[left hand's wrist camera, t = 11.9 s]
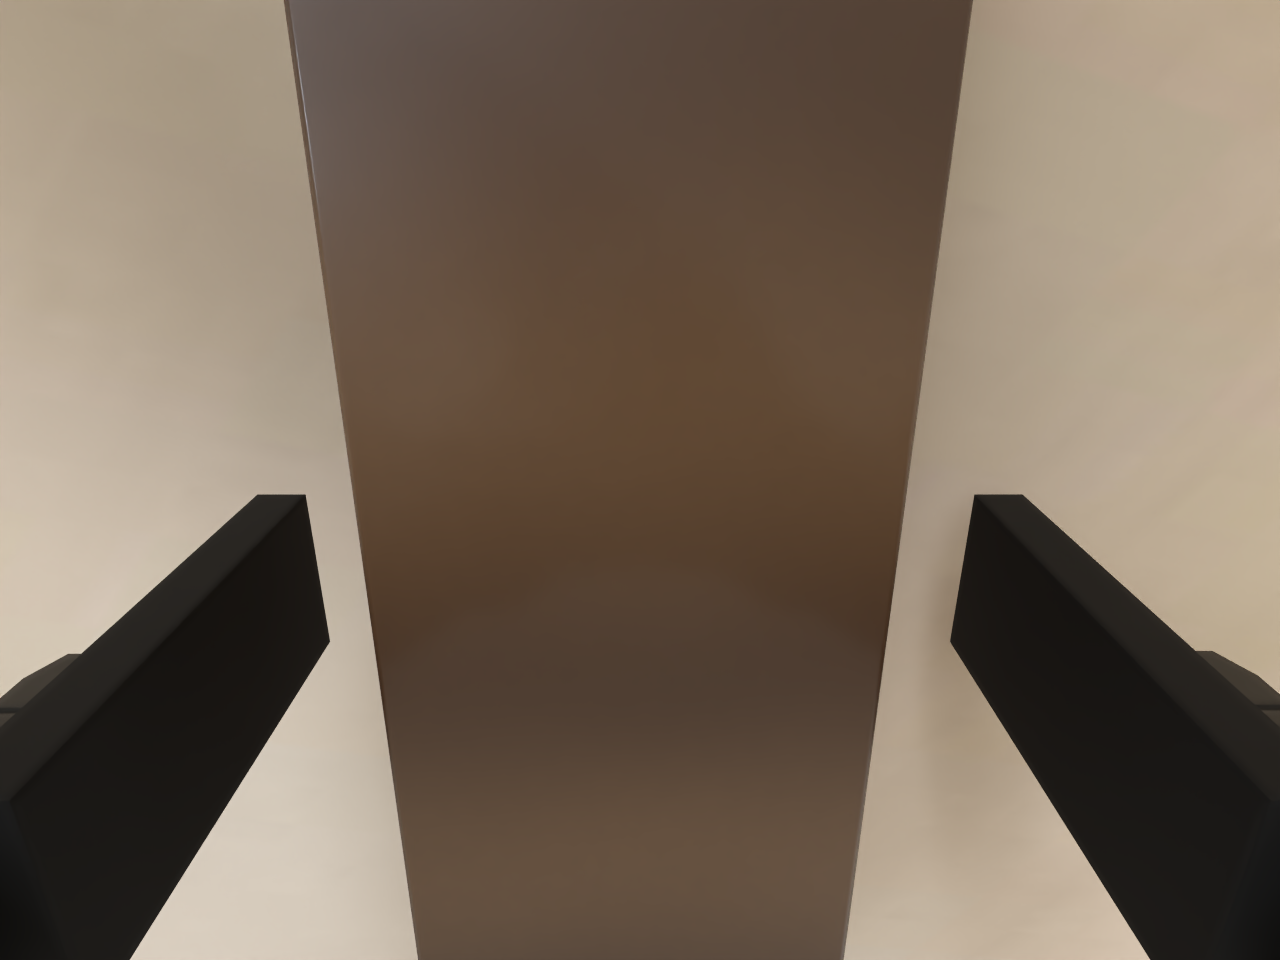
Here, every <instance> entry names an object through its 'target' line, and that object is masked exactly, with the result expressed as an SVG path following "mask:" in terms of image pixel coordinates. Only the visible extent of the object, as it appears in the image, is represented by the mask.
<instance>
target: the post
mask: <svg viewBox="0 0 1280 960" xmlns="http://www.w3.org/2000/svg"><path fill="white" fill-rule="evenodd" d="M972 3H973V0H284V5H285V12H286V19H287V26H288V33H289V40H290V48H291V55H292V62H293V69H294V76H295V83H296V90H297V98H298V105H299V112H300V119H301V126H302V133H303V140H304V147H305V155H306V162H307V169H308V176H309V183H310V190H311V197H312V205H313V212H314V219H315V226H316V233H317V240H318V247H319V255H320V262H321V269H322V276H323V283H324V290H325V297H326V305H327V312H328V319H329V326H330V333H331V340H332V347H333V355H334V362H335V369H336V376H337V383H338V390H339V397H340V404H341V412H342V419H343V426H344V433H345V440H346V447H347V454H348V462H349V469H350V476H351V483H352V490H353V497H354V504H355V512H356V519H357V526H358V533H359V540H360V547H361V554H362V562H363V569H364V576H365V583H366V590H367V597H368V604H369V612H370V619H371V626H372V633H373V640H374V647H375V654H376V661H377V669H378V676H379V683H380V690H381V697H382V704H383V711H384V719H385V726H386V733H387V740H388V747H389V754H390V761H391V769H392V776H393V783H394V790H395V797H396V804H397V811H398V819H399V826H400V833H401V840H402V847H403V854H404V861H405V869H406V876H407V883H408V890H409V897H410V904H411V911H412V918H413V926H414V933H415V940H416V947H417V954H418V960H844V952H845V945H846V938H847V930H848V923H849V915H850V908H851V901H852V893H853V886H854V878H855V871H856V863H857V856H858V849H859V841H860V834H861V826H862V819H863V812H864V804H865V797H866V789H867V782H868V774H869V767H870V760H871V752H872V745H873V737H874V730H875V723H876V715H877V708H878V700H879V693H880V685H881V678H882V671H883V663H884V656H885V648H886V641H887V634H888V626H889V619H890V611H891V604H892V596H893V589H894V582H895V574H896V567H897V559H898V552H899V545H900V537H901V530H902V522H903V515H904V508H905V500H906V493H907V485H908V478H909V470H910V463H911V456H912V448H913V441H914V433H915V426H916V419H917V411H918V404H919V396H920V389H921V381H922V374H923V367H924V359H925V352H926V344H927V337H928V330H929V322H930V315H931V307H932V300H933V292H934V285H935V278H936V270H937V263H938V255H939V248H940V241H941V233H942V226H943V218H944V211H945V203H946V196H947V189H948V181H949V174H950V166H951V159H952V152H953V144H954V137H955V129H956V122H957V115H958V107H959V100H960V92H961V85H962V77H963V70H964V63H965V55H966V48H967V40H968V33H969V26H970V18H971V11H972Z"/></svg>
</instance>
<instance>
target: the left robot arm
mask: <svg viewBox="0 0 1280 960" xmlns="http://www.w3.org/2000/svg"><path fill="white" fill-rule="evenodd" d="M329 642H330V639H329V633H328V627H327V621H326V615H325V609H324V603H323V597H322V591H321V585H320V579H319V573H318V567H317V561H316V555H315V549H314V543H313V537H312V531H311V525H310V519H309V513H308V507H307V501H306V495H257V496H256V497H254V498H253V499H252V500H251V501H250V502H249V503H248V504H247V505H246V506H244V507H243V508H242V509H241V510H240V511H239V512H238V513H237V514H236V515H235V516H233V517H232V518H231V519H230V520H229V521H228V522H227V523H226V524H225V525H223V526H222V527H221V528H220V529H219V530H218V531H217V532H216V533H215V534H213V535H212V536H211V537H210V538H209V539H208V540H207V541H206V542H205V543H204V544H202V545H201V546H200V547H199V548H198V549H197V550H196V551H195V552H194V553H192V554H191V555H190V556H189V557H188V558H187V559H186V560H185V561H184V562H182V563H181V564H180V565H179V566H178V567H177V568H176V569H175V570H174V571H173V572H171V573H170V574H169V575H168V576H167V577H166V578H165V579H164V580H163V581H161V582H160V583H159V584H158V585H157V586H156V587H155V588H154V589H153V590H151V591H150V592H149V593H148V594H147V595H146V596H145V597H144V598H143V599H142V600H140V601H139V602H138V603H137V604H136V605H135V606H134V607H133V608H132V609H130V610H129V611H128V612H127V613H126V614H125V615H124V616H123V617H122V618H121V619H119V620H118V621H117V622H116V623H115V624H114V625H113V626H112V627H111V628H109V629H108V630H107V631H106V632H105V633H104V634H103V635H102V636H101V637H99V638H98V639H97V640H96V641H95V642H94V643H93V644H92V645H91V646H90V647H88V648H87V649H86V650H85V651H84V652H83V653H82V654H67V655H65V656H64V657H62V658H60V659H58V660H56V661H55V662H53V663H51V664H49V665H47V666H45V667H44V668H42V669H40V670H38V671H36V672H34V673H33V674H31V675H29V676H27V677H25V678H23V679H22V680H21V681H20V682H19V683H17V684H16V685H15V686H14V687H13V688H12V689H10V690H9V691H8V692H7V693H6V694H5V695H3V696H2V697H1V698H0V960H130V958H131V957H132V955H133V954H134V952H135V950H136V949H137V947H138V946H139V944H140V942H141V941H142V939H143V938H144V936H145V935H146V933H147V931H148V930H149V928H150V927H151V925H152V923H153V922H154V920H155V919H156V917H157V915H158V914H159V912H160V911H161V909H162V908H163V906H164V904H165V903H166V901H167V900H168V898H169V896H170V895H171V893H172V892H173V890H174V888H175V887H176V885H177V884H178V882H179V881H180V879H181V877H182V876H183V874H184V873H185V871H186V869H187V868H188V866H189V865H190V863H191V861H192V860H193V858H194V857H195V855H196V854H197V852H198V850H199V849H200V847H201V846H202V844H203V842H204V841H205V839H206V838H207V836H208V834H209V833H210V831H211V830H212V828H213V827H214V825H215V823H216V822H217V820H218V819H219V817H220V815H221V814H222V812H223V811H224V809H225V807H226V806H227V804H228V803H229V801H230V800H231V798H232V796H233V795H234V793H235V792H236V790H237V788H238V787H239V785H240V784H241V782H242V780H243V779H244V777H245V776H246V774H247V773H248V771H249V769H250V768H251V766H252V765H253V763H254V761H255V760H256V758H257V757H258V755H259V753H260V752H261V750H262V749H263V747H264V746H265V744H266V742H267V741H268V739H269V738H270V736H271V734H272V733H273V731H274V730H275V728H276V726H277V725H278V723H279V722H280V720H281V719H282V717H283V715H284V714H285V712H286V711H287V709H288V707H289V706H290V704H291V703H292V701H293V699H294V698H295V696H296V695H297V693H298V692H299V690H300V688H301V687H302V685H303V684H304V682H305V680H306V679H307V677H308V676H309V674H310V672H311V671H312V669H313V668H314V666H315V665H316V663H317V661H318V660H319V658H320V657H321V655H322V653H323V652H324V650H325V649H326V647H327V645H328V644H329ZM950 642H951V644H952V645H953V647H954V649H955V650H956V652H957V653H958V655H959V657H960V658H961V660H962V661H963V663H964V664H965V666H966V668H967V669H968V671H969V672H970V674H971V676H972V677H973V679H974V680H975V682H976V684H977V685H978V687H979V688H980V690H981V691H982V693H983V695H984V696H985V698H986V699H987V701H988V703H989V704H990V706H991V707H992V709H993V711H994V712H995V714H996V715H997V717H998V718H999V720H1000V722H1001V723H1002V725H1003V726H1004V728H1005V730H1006V731H1007V733H1008V734H1009V736H1010V738H1011V739H1012V741H1013V742H1014V744H1015V745H1016V747H1017V749H1018V750H1019V752H1020V753H1021V755H1022V757H1023V758H1024V760H1025V761H1026V763H1027V765H1028V766H1029V768H1030V769H1031V771H1032V772H1033V774H1034V776H1035V777H1036V779H1037V780H1038V782H1039V784H1040V785H1041V787H1042V788H1043V790H1044V792H1045V793H1046V795H1047V796H1048V798H1049V799H1050V801H1051V803H1052V804H1053V806H1054V807H1055V809H1056V811H1057V812H1058V814H1059V815H1060V817H1061V819H1062V820H1063V822H1064V823H1065V825H1066V826H1067V828H1068V830H1069V831H1070V833H1071V834H1072V836H1073V838H1074V839H1075V841H1076V842H1077V844H1078V846H1079V847H1080V849H1081V850H1082V852H1083V853H1084V855H1085V857H1086V858H1087V860H1088V861H1089V863H1090V865H1091V866H1092V868H1093V869H1094V871H1095V873H1096V874H1097V876H1098V877H1099V879H1100V880H1101V882H1102V884H1103V885H1104V887H1105V888H1106V890H1107V892H1108V893H1109V895H1110V896H1111V898H1112V900H1113V901H1114V903H1115V904H1116V906H1117V907H1118V909H1119V911H1120V912H1121V914H1122V915H1123V917H1124V919H1125V920H1126V922H1127V923H1128V925H1129V927H1130V928H1131V930H1132V931H1133V933H1134V934H1135V936H1136V938H1137V939H1138V941H1139V942H1140V944H1141V946H1142V947H1143V949H1144V950H1145V952H1146V954H1147V955H1148V957H1149V958H1150V960H1280V694H1279V693H1278V692H1276V691H1275V690H1274V689H1273V688H1272V687H1270V686H1269V685H1268V684H1267V683H1266V682H1265V681H1263V680H1262V679H1261V678H1260V677H1259V676H1257V675H1256V674H1254V673H1252V672H1250V671H1248V670H1246V669H1245V668H1243V667H1241V666H1239V665H1237V664H1235V663H1233V662H1232V661H1230V660H1228V659H1226V658H1224V657H1222V656H1221V655H1219V654H1217V653H1215V652H1213V651H1195V650H1194V649H1193V648H1192V647H1190V646H1189V645H1188V644H1187V643H1186V642H1185V641H1184V640H1183V639H1182V638H1181V637H1179V636H1178V635H1177V634H1176V633H1175V632H1174V631H1173V630H1172V629H1171V628H1169V627H1168V626H1167V625H1166V624H1165V623H1164V622H1163V621H1162V620H1161V619H1160V618H1158V617H1157V616H1156V615H1155V614H1154V613H1153V612H1152V611H1151V610H1150V609H1148V608H1147V607H1146V606H1145V605H1144V604H1143V603H1142V602H1141V601H1140V600H1138V599H1137V598H1136V597H1135V596H1134V595H1133V594H1132V593H1131V592H1130V591H1129V590H1127V589H1126V588H1125V587H1124V586H1123V585H1122V584H1121V583H1120V582H1119V581H1117V580H1116V579H1115V578H1114V577H1113V576H1112V575H1111V574H1110V573H1109V572H1107V571H1106V570H1105V569H1104V568H1103V567H1102V566H1101V565H1100V564H1099V563H1098V562H1096V561H1095V560H1094V559H1093V558H1092V557H1091V556H1090V555H1089V554H1088V553H1086V552H1085V551H1084V550H1083V549H1082V548H1081V547H1080V546H1079V545H1078V544H1076V543H1075V542H1074V541H1073V540H1072V539H1071V538H1070V537H1069V536H1068V535H1067V534H1065V533H1064V532H1063V531H1062V530H1061V529H1060V528H1059V527H1058V526H1057V525H1055V524H1054V523H1053V522H1052V521H1051V520H1050V519H1049V518H1048V517H1047V516H1046V515H1044V514H1043V513H1042V512H1041V511H1040V510H1039V509H1038V508H1037V507H1036V506H1034V505H1033V504H1032V503H1031V502H1030V501H1029V500H1028V499H1027V498H1026V497H1024V496H1023V495H974V501H973V507H972V513H971V519H970V525H969V531H968V537H967V543H966V549H965V555H964V561H963V567H962V573H961V579H960V585H959V591H958V597H957V603H956V609H955V615H954V621H953V627H952V633H951V639H950Z"/></svg>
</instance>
